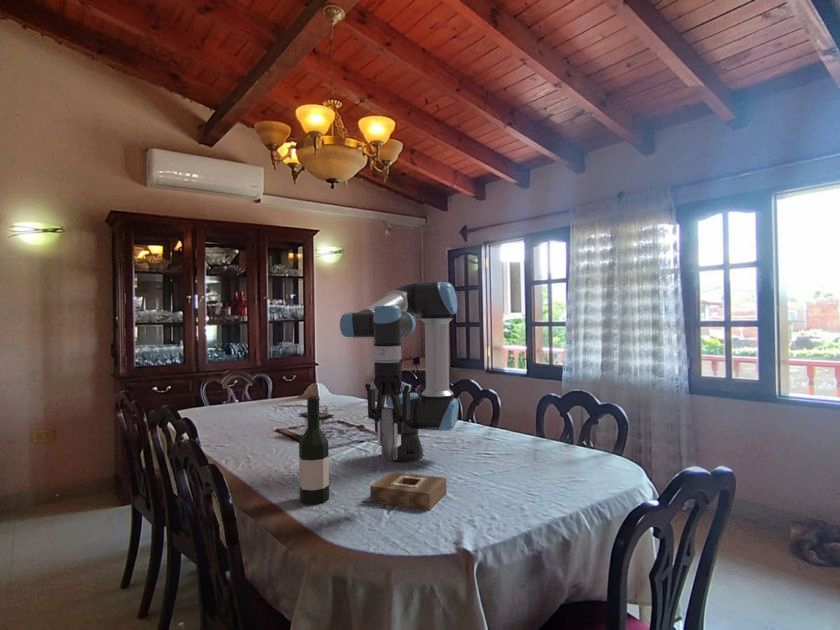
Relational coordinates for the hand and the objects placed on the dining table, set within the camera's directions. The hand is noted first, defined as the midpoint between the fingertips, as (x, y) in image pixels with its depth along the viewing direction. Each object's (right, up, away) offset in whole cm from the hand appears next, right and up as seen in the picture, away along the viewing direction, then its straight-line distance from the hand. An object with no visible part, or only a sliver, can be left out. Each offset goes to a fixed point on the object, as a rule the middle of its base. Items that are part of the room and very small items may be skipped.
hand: (389, 444), depth 141 cm
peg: (0, -4, 0) cm, 4 cm away
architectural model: (-37, -18, +82) cm, 92 cm away
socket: (+5, -17, +6) cm, 19 cm away
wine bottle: (-22, -17, +5) cm, 28 cm away
